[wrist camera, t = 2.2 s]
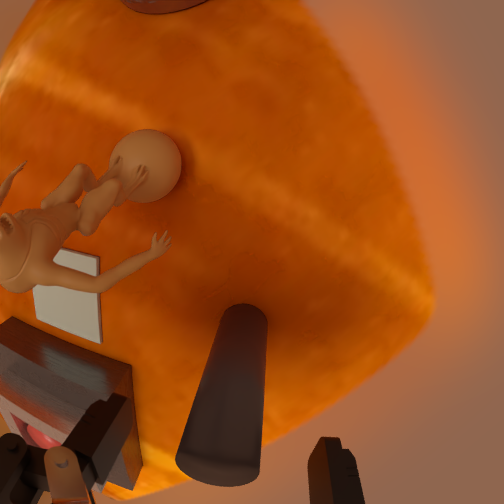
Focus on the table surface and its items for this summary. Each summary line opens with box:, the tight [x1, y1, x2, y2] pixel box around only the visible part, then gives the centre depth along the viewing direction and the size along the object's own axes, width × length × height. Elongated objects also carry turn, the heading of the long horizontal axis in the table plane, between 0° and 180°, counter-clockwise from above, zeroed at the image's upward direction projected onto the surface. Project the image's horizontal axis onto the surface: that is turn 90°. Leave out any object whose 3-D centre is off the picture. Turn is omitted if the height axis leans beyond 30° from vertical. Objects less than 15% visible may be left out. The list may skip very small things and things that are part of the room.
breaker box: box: [0, 317, 143, 493], centre depth 19 cm, size 16×14×7 cm
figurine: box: [0, 129, 182, 293], centre depth 11 cm, size 8×6×12 cm
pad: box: [33, 247, 103, 344], centre depth 19 cm, size 7×7×1 cm
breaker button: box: [27, 425, 62, 449], centre depth 19 cm, size 4×4×4 cm
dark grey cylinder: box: [175, 304, 267, 487], centre depth 14 cm, size 3×3×11 cm
